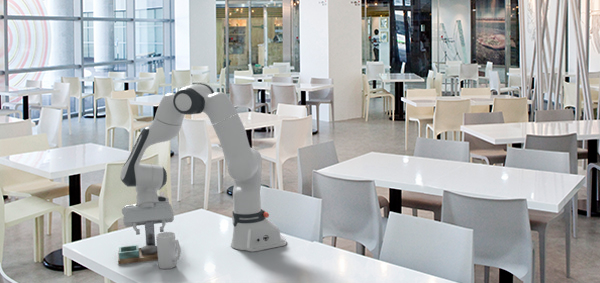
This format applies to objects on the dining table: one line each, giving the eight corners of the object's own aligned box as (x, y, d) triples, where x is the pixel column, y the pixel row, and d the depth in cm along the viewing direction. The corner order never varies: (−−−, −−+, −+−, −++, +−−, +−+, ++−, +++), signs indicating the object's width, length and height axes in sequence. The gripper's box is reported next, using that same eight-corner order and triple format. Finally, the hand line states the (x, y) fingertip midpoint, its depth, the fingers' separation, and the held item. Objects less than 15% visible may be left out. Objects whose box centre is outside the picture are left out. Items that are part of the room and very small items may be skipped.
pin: (155, 243, 235) (153, 220, 233) (155, 246, 231) (154, 222, 230) (146, 244, 234) (144, 221, 232) (146, 247, 230) (144, 223, 229)
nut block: (157, 249, 228) (157, 239, 227) (159, 259, 216) (159, 249, 216) (118, 254, 223) (118, 244, 223) (118, 264, 212) (117, 254, 211)
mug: (154, 267, 208) (152, 235, 206) (167, 261, 214) (165, 230, 212) (175, 272, 203) (173, 239, 202) (187, 265, 209) (185, 234, 207)
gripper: (121, 202, 234) (122, 231, 226) (172, 197, 240) (175, 226, 232) (122, 209, 239) (123, 239, 231) (171, 205, 244) (175, 233, 237)
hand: (150, 232), depth 231 cm, fingers open, 8 cm apart
